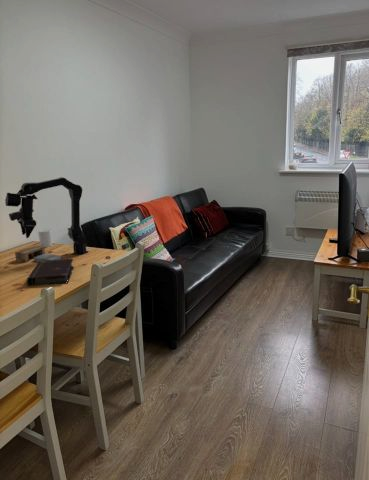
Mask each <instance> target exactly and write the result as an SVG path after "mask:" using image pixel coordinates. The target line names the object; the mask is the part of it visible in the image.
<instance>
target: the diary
mask: <svg viewBox="0 0 369 480" xmlns="http://www.w3.org/2000/svg"><path fill="white" fill-rule="evenodd" d="M73 260H74V258H62V259H60V260H49V261H40V262H37V264H36V265H35V267H33V269H32V271H31V273H30V274H29V275H28V277H27V278H26V283H27V286H28V287H30V286H31V284H32V286H35V285H36V286H41V285H48V286H49V285H50V286H51V285H65V283H66V282H67V283H66V284H68V283H69V281H70V279H71V277H72V274H73V270H74V268H75V267H74V266H73ZM67 280H68V281H67Z"/></svg>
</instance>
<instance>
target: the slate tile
mask: <svg viewBox="0 0 369 480" xmlns="http://www.w3.org/2000/svg"><path fill="white" fill-rule="evenodd" d="M60 259H63V258H62V255H56V254H49V253H45V254H42V255H39V256H38V255H36V256H34V257H33V260H34V262H37V263H38V262H40V261H49V260H60Z"/></svg>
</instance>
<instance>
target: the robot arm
mask: <svg viewBox="0 0 369 480" xmlns="http://www.w3.org/2000/svg"><path fill="white" fill-rule="evenodd" d="M59 186H60V187H61V186H62V187H64V188H65V189H67V190H68V195H69V198H70V202H71V203H70V204H71V206H70V209H71V217H70V218H71V219H70V221H71V224H70V225H71V226H70V227H68V228H67V236H68V237H69V238H70V240H72V242H73V251H72V255H84V254H86V253H89V251H88V250H87V243H88V240H87V239H86V238H85V237H83V232H82V229H81V224H80V223H81V219H80V215H81V214H80V201H81V198H82V195H83V187H82V186H81V185H80V184H75V183H73V182H72V181H70V180H68V179H67V178H65V177H61V176H60V177H58V178H53V179H49V180H44V181H41V182H40V181H39V182H23V183H22V185H21V187H20V188H19V189H20V190H18V191H17V192H16V193H12V192H6V196H5V200H4V201H5V206H6V207H15V208H16V207H19V206H21V207H20V208H19V210H18V211H15V212H11V213H9V214H8V217H9V219H10V221H12V222H13V221H17V223H18V224H19V225H20V229H21V234H22V235H23V236H24V235H25V237H26V239H29V237H30V236H31V234H32V232H33V231H34V229H35V227H36V226H37V221H36V220H35V219H34V217H33V213H34V209H33V208H34V200H38V197H37V196H36V195H35V194H36V193H38V192H40V191H43V190H47V189H51V188H56V187H59Z"/></svg>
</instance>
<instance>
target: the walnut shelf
mask: <svg viewBox="0 0 369 480" xmlns="http://www.w3.org/2000/svg"><path fill="white" fill-rule="evenodd" d="M45 249H46V247H44V246H41V245H36V244H34V245H31V246H28V247H26V248H23V249H19V250H16V251H14V257H15V261H16V262H19V263H28V262H29V261H30V260H29V258H30V257H31V258H34V257H35V256H39V255H42V254H46V250H45Z"/></svg>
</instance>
